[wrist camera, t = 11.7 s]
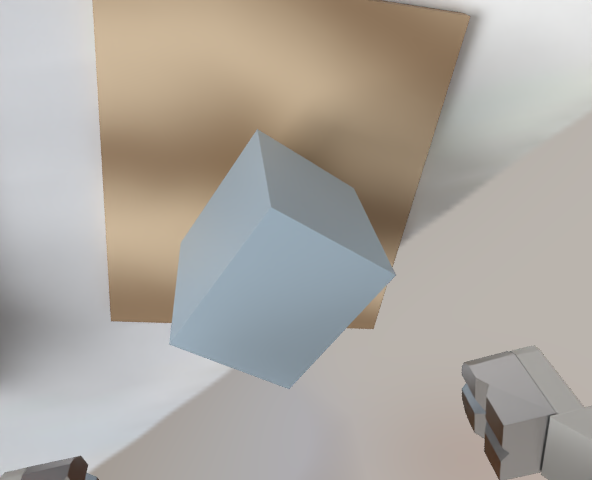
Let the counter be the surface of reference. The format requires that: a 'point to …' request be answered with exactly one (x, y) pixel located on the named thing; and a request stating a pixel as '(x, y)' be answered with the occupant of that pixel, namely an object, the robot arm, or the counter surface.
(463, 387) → the robot arm
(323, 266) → the light blue block
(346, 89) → the oak pad
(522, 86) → the counter surface
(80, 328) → the counter surface
